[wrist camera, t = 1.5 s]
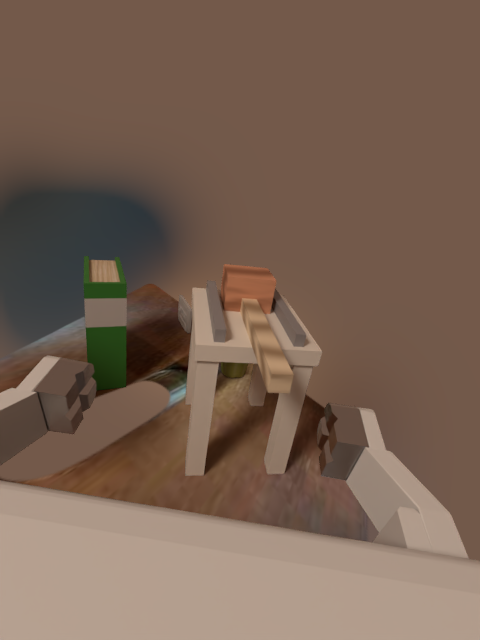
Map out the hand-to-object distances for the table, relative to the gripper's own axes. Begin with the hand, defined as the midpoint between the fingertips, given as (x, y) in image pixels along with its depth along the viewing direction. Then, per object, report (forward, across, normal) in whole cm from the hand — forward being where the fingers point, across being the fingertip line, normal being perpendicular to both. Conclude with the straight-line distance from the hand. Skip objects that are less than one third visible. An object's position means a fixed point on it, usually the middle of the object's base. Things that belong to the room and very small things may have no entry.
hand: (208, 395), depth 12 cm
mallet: (+33, +3, -21) cm, 39 cm away
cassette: (+77, -16, -54) cm, 96 cm away
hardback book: (+49, -29, -50) cm, 76 cm away
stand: (+35, +2, -47) cm, 59 cm away
